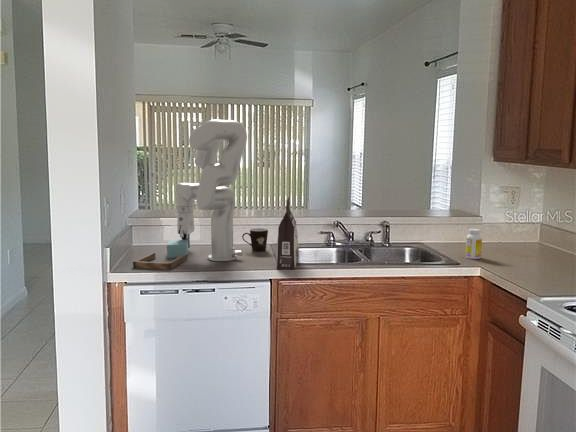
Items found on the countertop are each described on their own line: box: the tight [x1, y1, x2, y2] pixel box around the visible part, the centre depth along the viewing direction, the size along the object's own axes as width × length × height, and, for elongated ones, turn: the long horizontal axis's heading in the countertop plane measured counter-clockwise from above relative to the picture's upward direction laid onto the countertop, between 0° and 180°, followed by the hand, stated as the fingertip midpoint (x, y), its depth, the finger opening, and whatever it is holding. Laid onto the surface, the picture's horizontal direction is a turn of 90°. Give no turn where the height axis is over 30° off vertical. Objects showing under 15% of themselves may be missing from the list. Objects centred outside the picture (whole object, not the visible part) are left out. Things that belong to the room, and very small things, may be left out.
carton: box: [166, 239, 189, 259], centre depth 237 cm, size 8×12×6 cm
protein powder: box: [275, 196, 299, 270], centre depth 218 cm, size 16×9×28 cm, turn 177°
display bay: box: [132, 252, 188, 271], centre depth 219 cm, size 16×18×2 cm
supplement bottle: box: [465, 228, 483, 260], centre depth 234 cm, size 7×7×13 cm
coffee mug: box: [241, 227, 269, 253], centre depth 247 cm, size 12×9×10 cm
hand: (185, 247), depth 247 cm, fingers closed
